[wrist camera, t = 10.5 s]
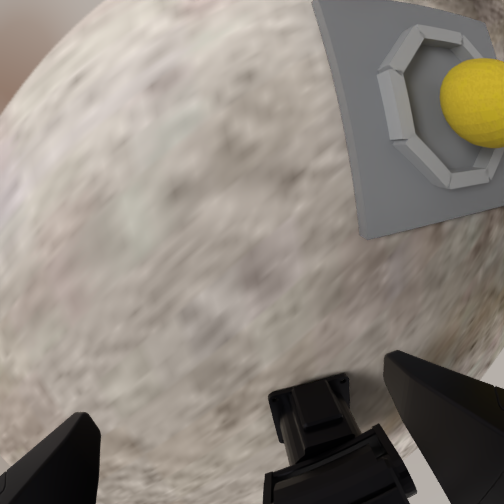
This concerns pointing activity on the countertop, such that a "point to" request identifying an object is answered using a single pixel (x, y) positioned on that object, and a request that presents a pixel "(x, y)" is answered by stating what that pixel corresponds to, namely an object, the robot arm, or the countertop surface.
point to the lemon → (475, 101)
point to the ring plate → (406, 113)
